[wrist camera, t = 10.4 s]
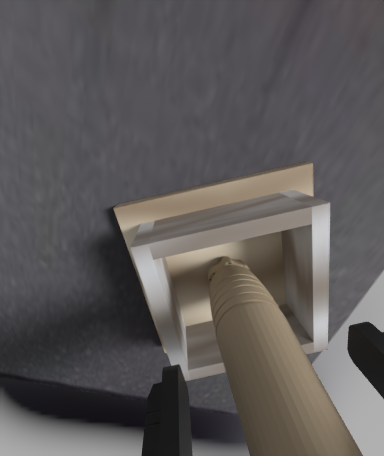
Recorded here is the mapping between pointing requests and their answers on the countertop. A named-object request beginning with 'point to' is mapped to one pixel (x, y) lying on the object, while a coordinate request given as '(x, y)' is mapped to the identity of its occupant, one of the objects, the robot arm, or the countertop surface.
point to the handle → (271, 372)
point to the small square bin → (235, 249)
